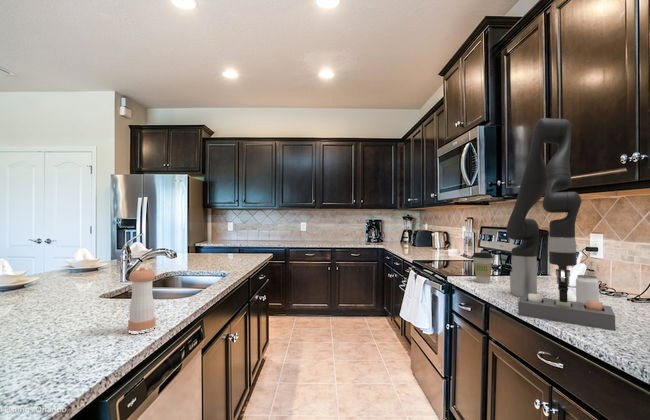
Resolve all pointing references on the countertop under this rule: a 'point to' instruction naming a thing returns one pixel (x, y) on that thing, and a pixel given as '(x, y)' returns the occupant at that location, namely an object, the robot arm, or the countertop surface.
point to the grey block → (587, 288)
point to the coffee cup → (482, 266)
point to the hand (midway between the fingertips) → (563, 301)
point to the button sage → (563, 303)
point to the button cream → (535, 297)
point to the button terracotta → (594, 305)
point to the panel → (567, 313)
